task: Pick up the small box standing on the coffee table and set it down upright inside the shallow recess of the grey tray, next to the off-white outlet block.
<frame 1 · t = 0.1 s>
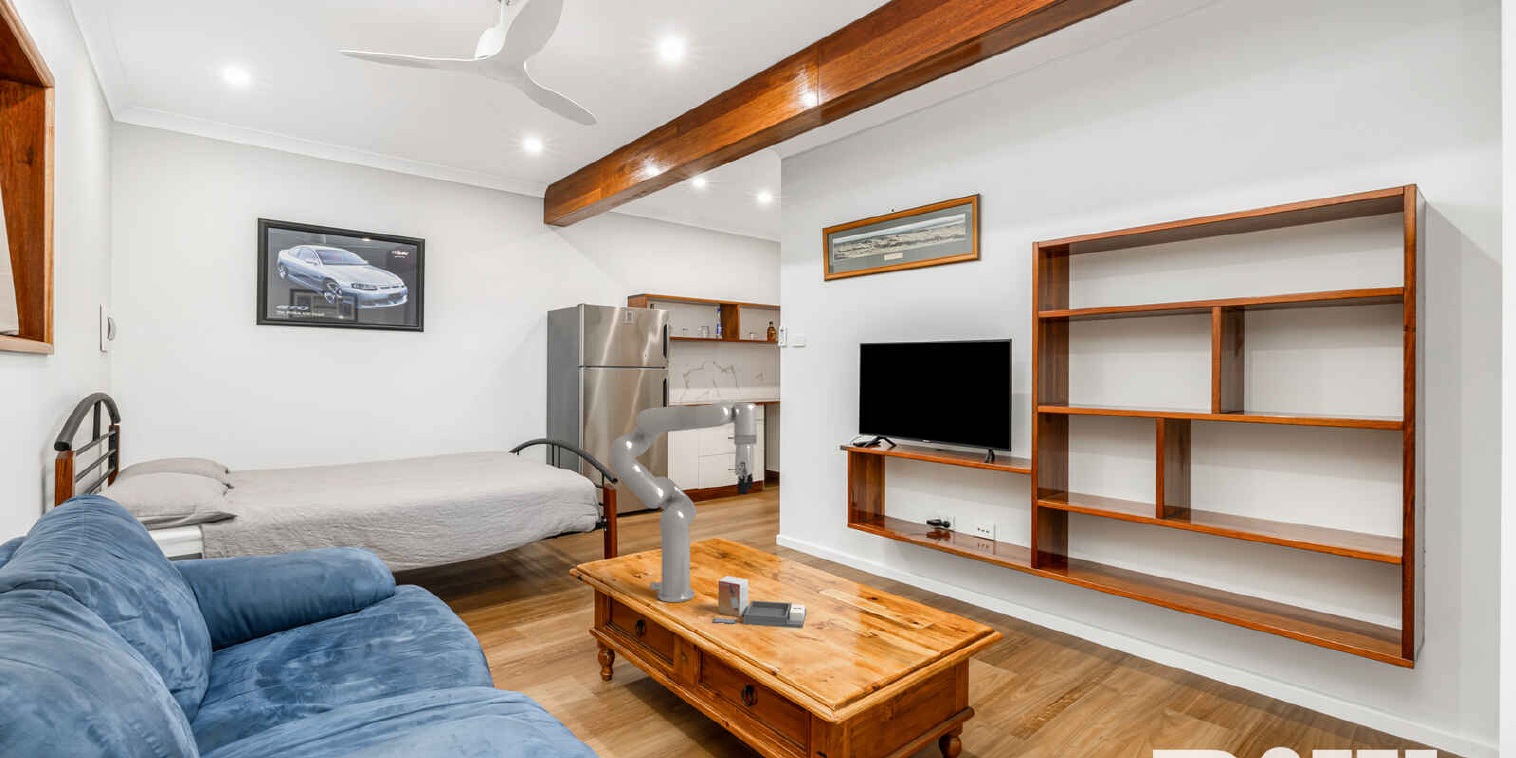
hand: (745, 491, 225), 37 cm above the table, tool pointing down, fingers open, 9 cm apart
phone: (724, 623, 207), on the table
small box: (733, 613, 215), on the table
grey tray: (775, 618, 210), on the table
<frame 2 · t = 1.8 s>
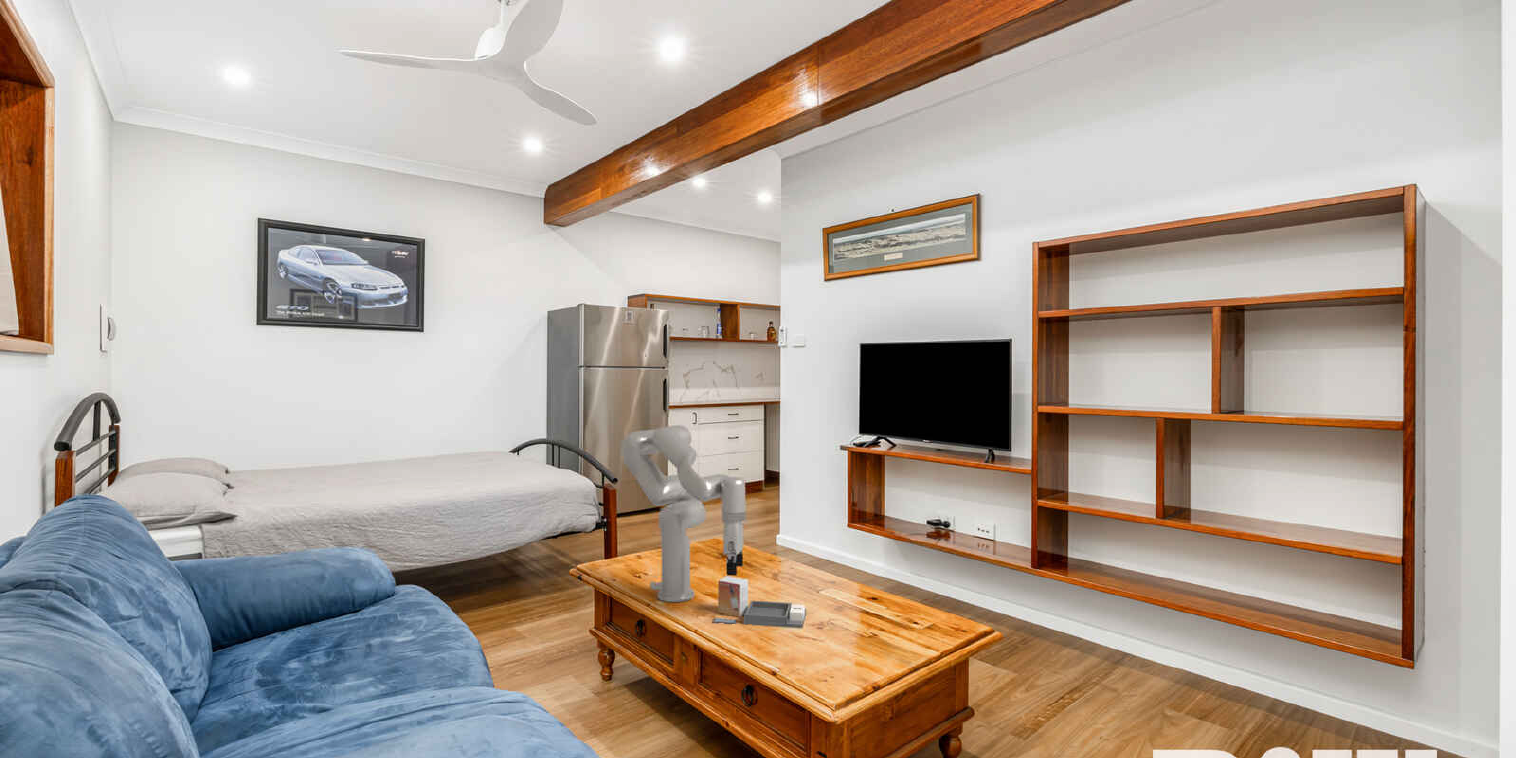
hand: (734, 570, 214), 14 cm above the table, tool pointing down, fingers open, 9 cm apart
nothing on the table moved.
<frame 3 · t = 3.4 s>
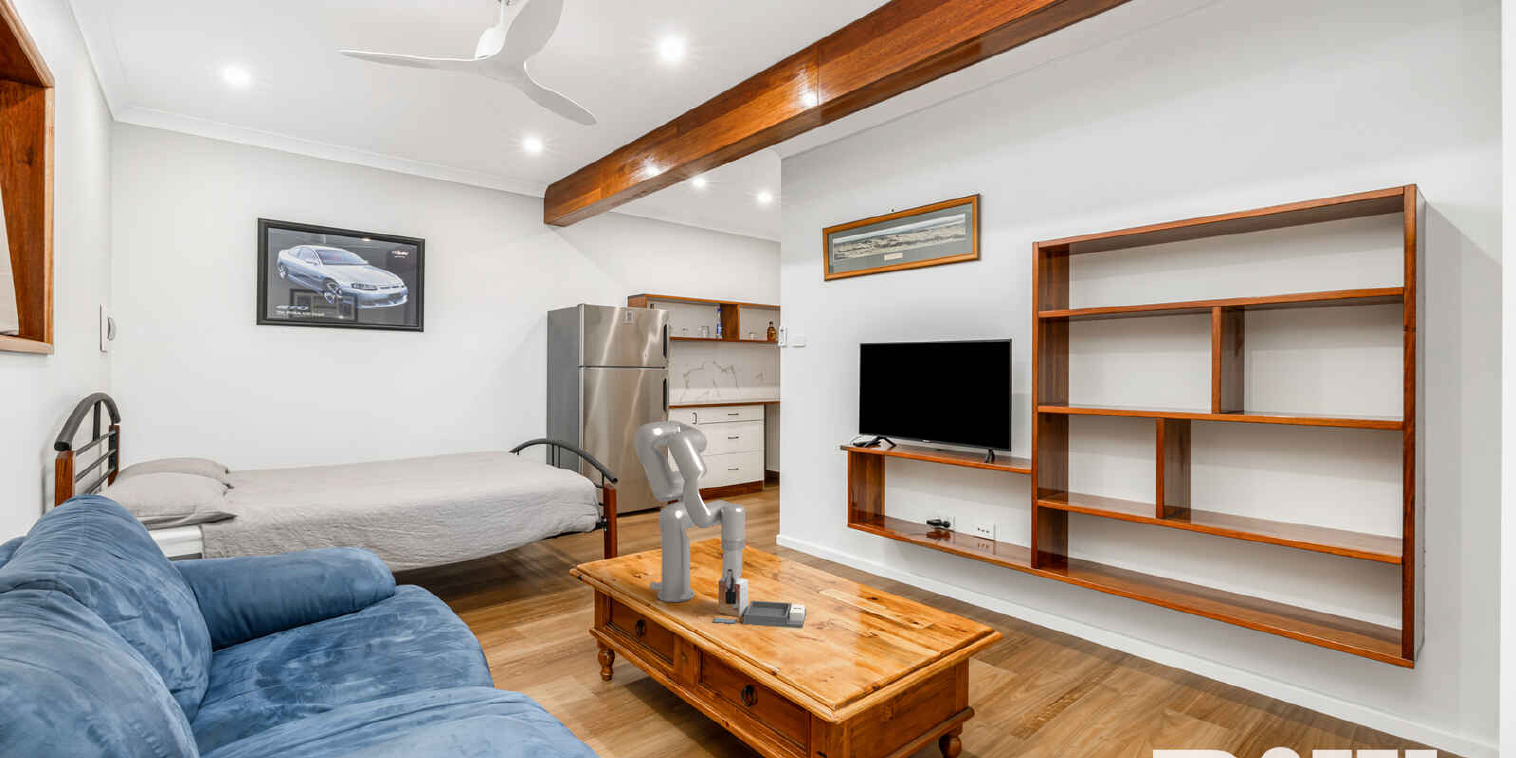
hand: (733, 599, 215), 4 cm above the table, tool pointing down, fingers closed on small box, 6 cm apart
small box: (733, 612, 215), on the table, touching gripper
everything else where it was.
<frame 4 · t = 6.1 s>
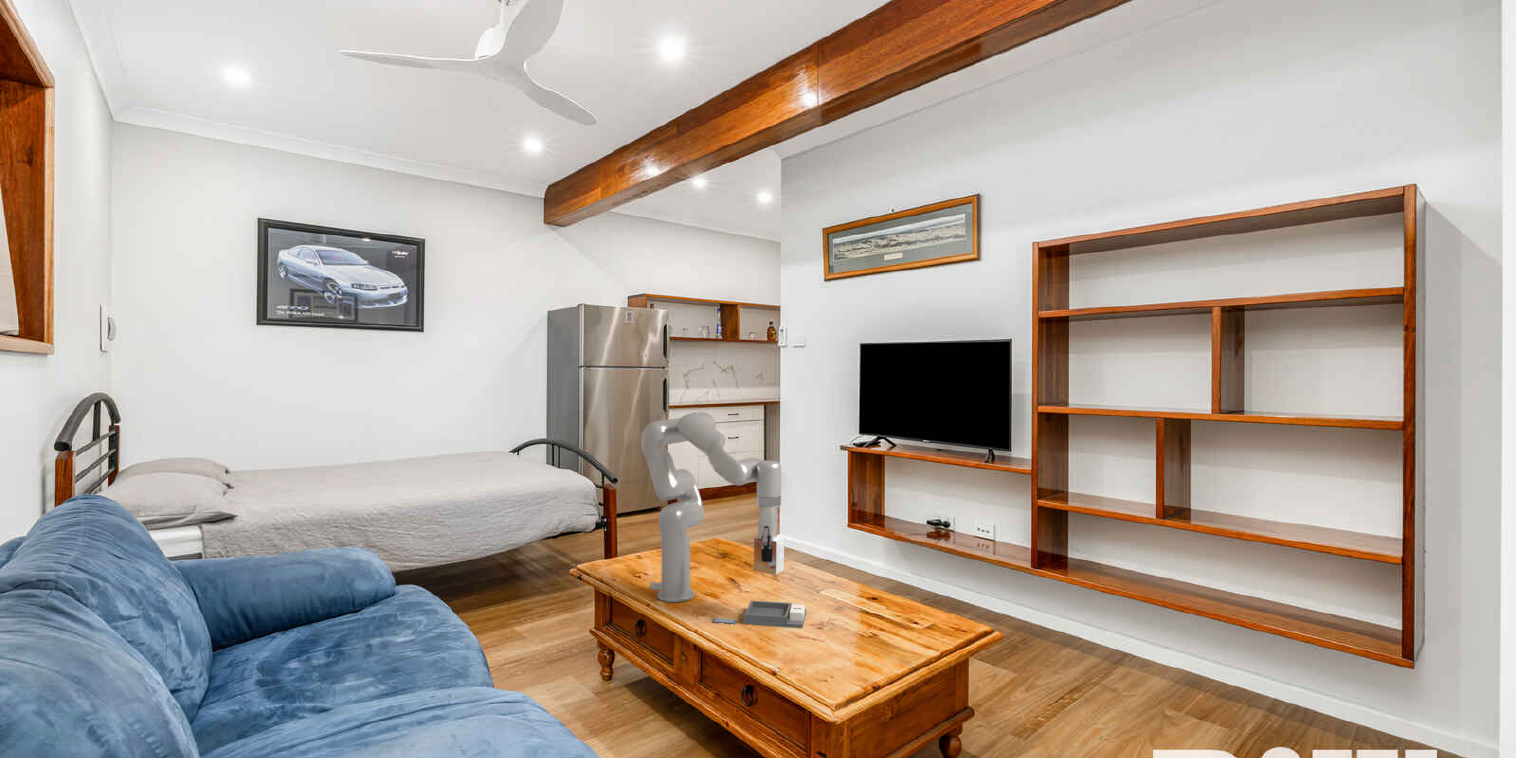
hand: (768, 557, 210), 19 cm above the table, tool pointing down, fingers closed on small box, 6 cm apart
small box: (768, 571, 210), point 14 cm above the table, touching gripper
everything else where it was.
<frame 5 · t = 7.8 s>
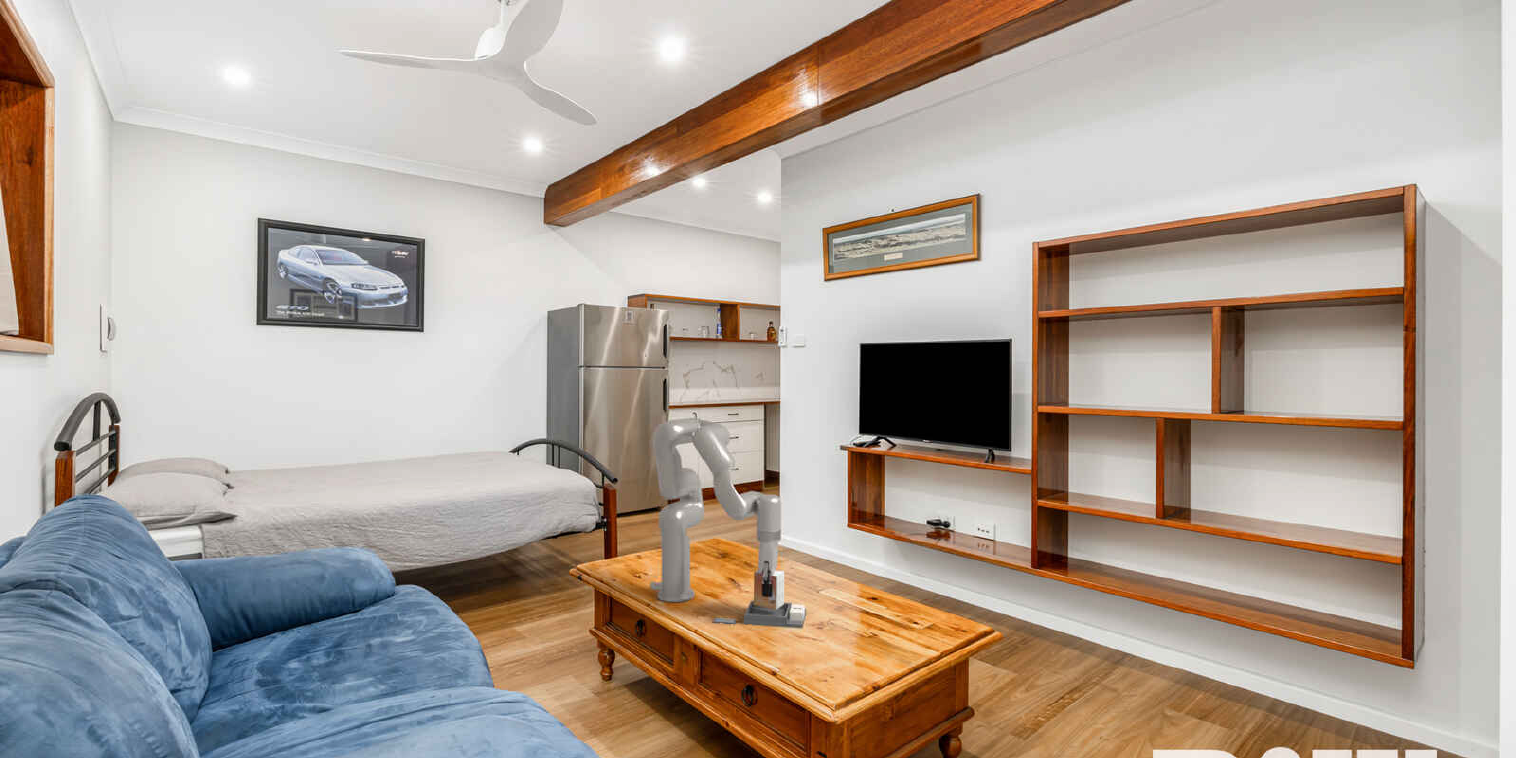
hand: (768, 591, 211), 8 cm above the table, tool pointing down, fingers closed on small box, 6 cm apart
small box: (769, 605, 211), point 4 cm above the table, touching gripper
everything else where it was.
when the fingers open (7 cm above the table, at t = 9.1 s): small box drops 1 cm, resting on grey tray.
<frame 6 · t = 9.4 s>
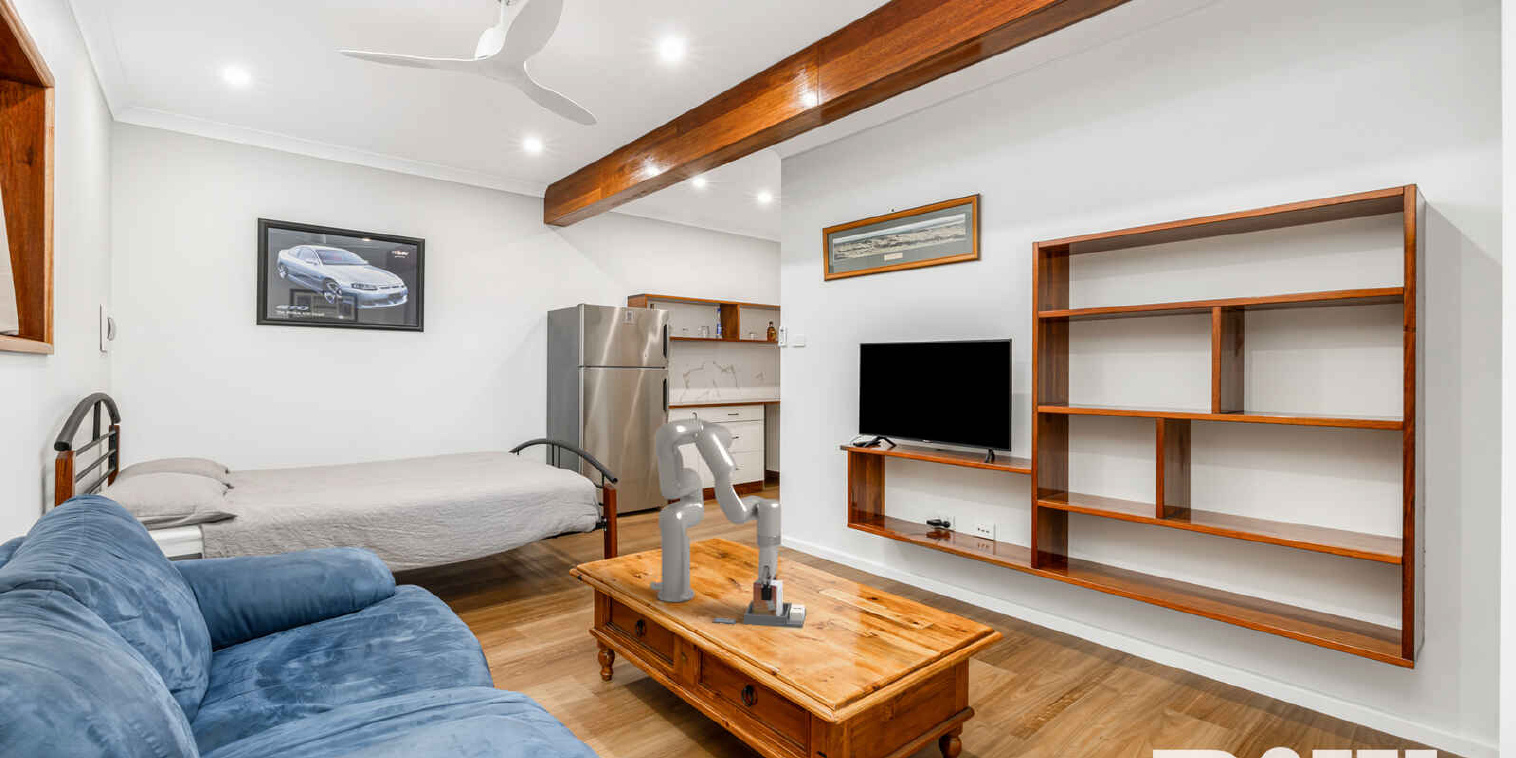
hand: (768, 594, 211), 7 cm above the table, tool pointing down, fingers open, 9 cm apart
small box: (767, 615, 211), point 1 cm above the table, touching grey tray
everything else where it was.
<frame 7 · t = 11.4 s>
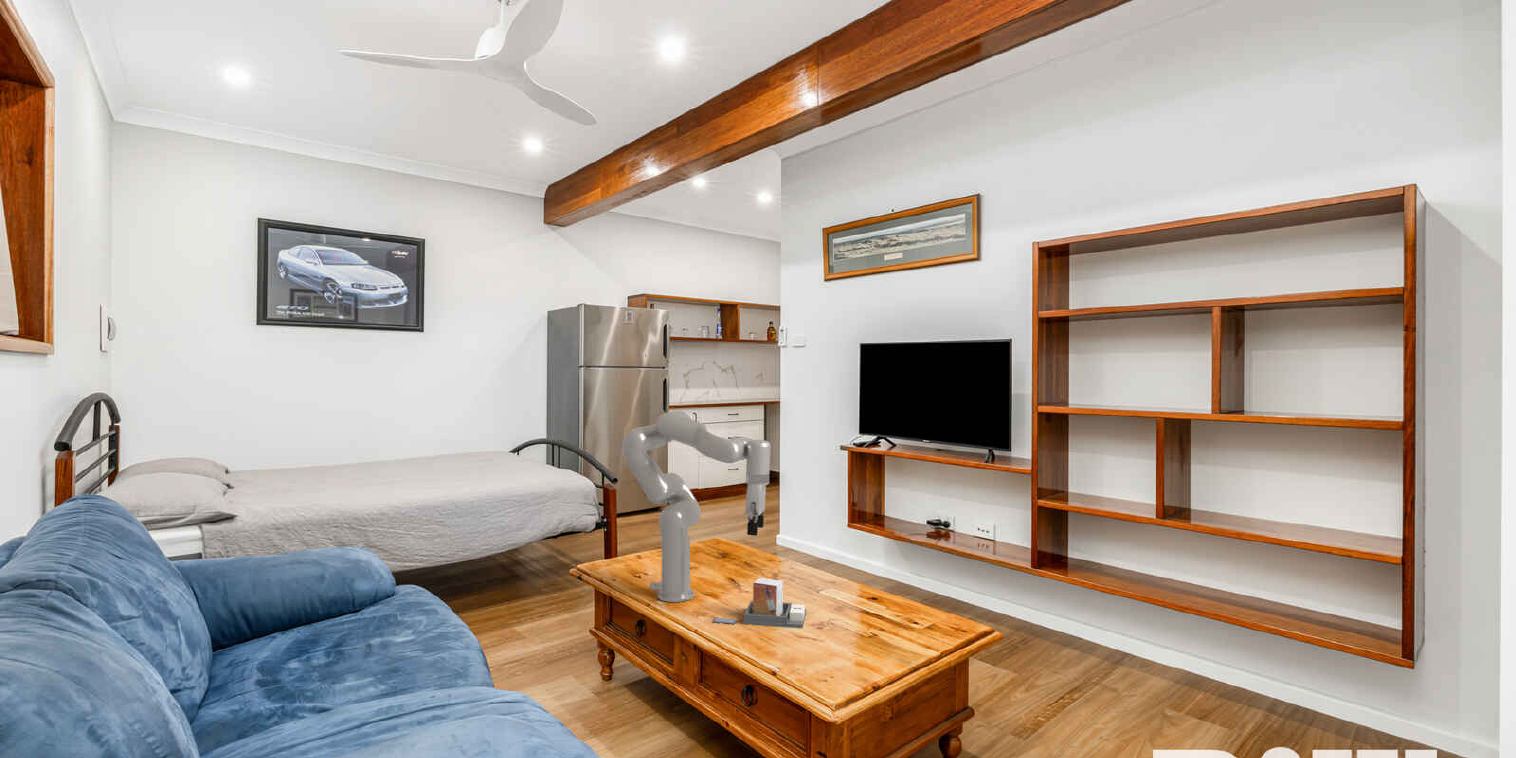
hand: (755, 531, 218), 25 cm above the table, tool pointing down, fingers open, 9 cm apart
nothing on the table moved.
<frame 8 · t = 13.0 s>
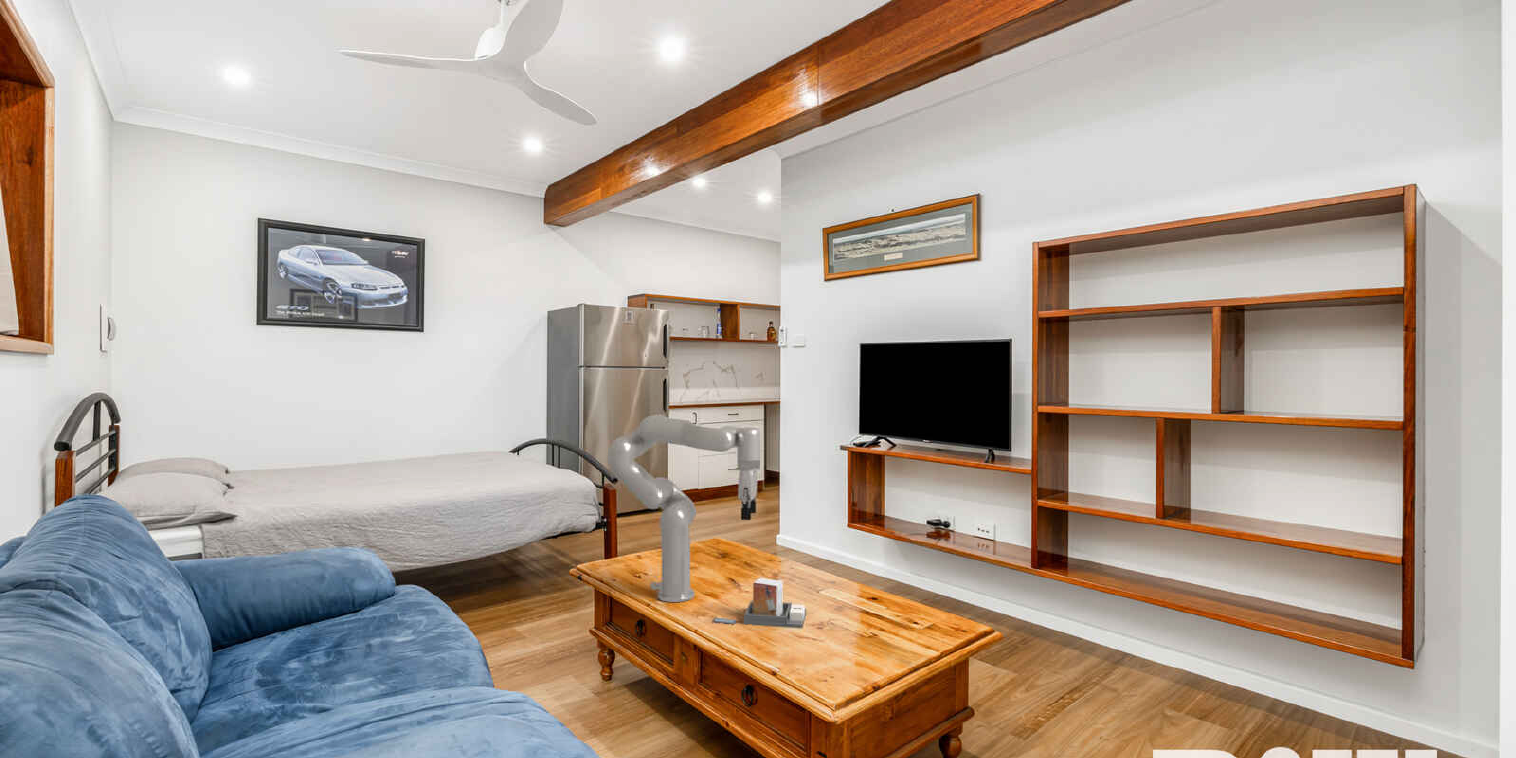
hand: (748, 516, 225), 28 cm above the table, tool pointing down, fingers open, 9 cm apart
nothing on the table moved.
at the end: small box inside the target area on the grey tray (0.2 cm from its centre), point 0.8 cm above the grey tray's base; small box tilted 0°; the gripper is holding nothing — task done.
